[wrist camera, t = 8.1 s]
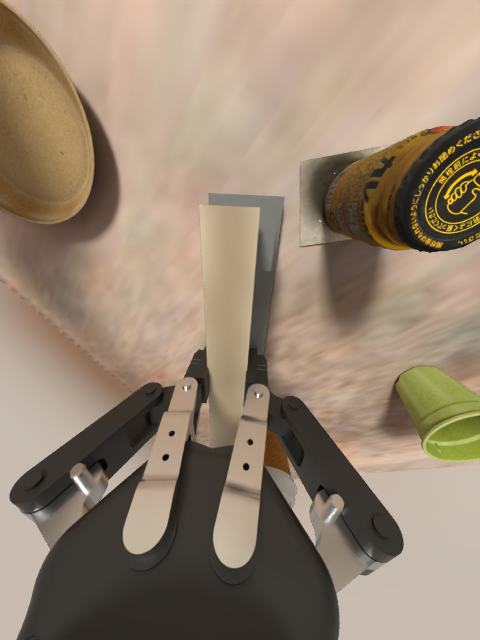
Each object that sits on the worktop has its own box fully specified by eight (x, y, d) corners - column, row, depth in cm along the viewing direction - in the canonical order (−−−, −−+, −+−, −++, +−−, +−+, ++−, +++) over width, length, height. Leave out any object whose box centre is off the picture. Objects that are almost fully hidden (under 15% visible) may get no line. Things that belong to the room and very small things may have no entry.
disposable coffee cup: (245, 392, 33) (239, 476, 23) (296, 409, 34) (313, 496, 24) (227, 423, 38) (215, 505, 27) (273, 437, 39) (278, 521, 28)
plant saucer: (-98, 11, 16) (-159, -23, 13) (80, 7, 15) (47, -30, 13) (5, 220, 23) (-23, 221, 21) (128, 225, 22) (113, 227, 20)
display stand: (215, 362, 31) (202, 411, 23) (211, 194, 20) (183, 185, 12) (261, 366, 30) (261, 418, 23) (282, 197, 19) (297, 190, 12)
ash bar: (219, 419, 21) (211, 460, 18) (217, 206, 12) (199, 204, 8) (242, 422, 21) (239, 463, 18) (259, 208, 11) (260, 207, 8)
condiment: (385, 234, 20) (519, 261, 10) (299, 246, 21) (338, 281, 11) (402, 142, 17) (637, 33, 6) (299, 162, 18) (356, 97, 8)
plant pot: (466, 383, 29) (541, 445, 21) (400, 409, 32) (443, 471, 25) (439, 344, 26) (514, 399, 18) (370, 378, 30) (408, 436, 22)
